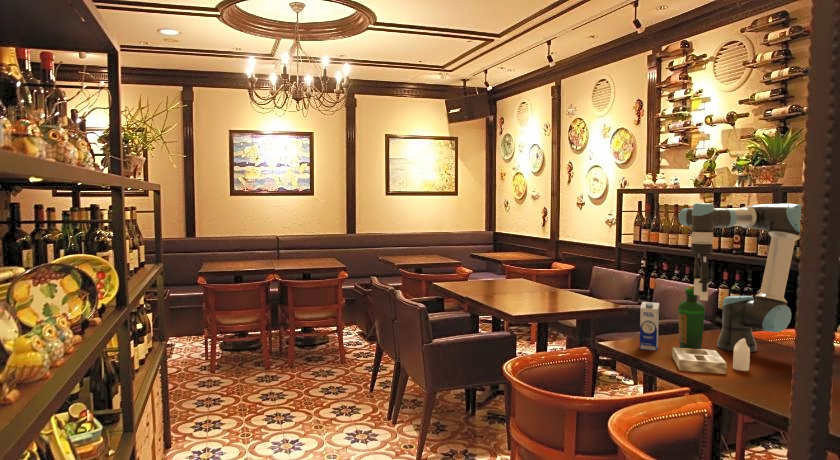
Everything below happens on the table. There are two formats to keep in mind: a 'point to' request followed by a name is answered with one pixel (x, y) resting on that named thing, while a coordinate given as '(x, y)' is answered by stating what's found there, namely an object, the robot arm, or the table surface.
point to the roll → (741, 356)
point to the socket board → (699, 360)
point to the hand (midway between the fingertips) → (700, 297)
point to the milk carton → (649, 326)
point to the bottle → (691, 321)
